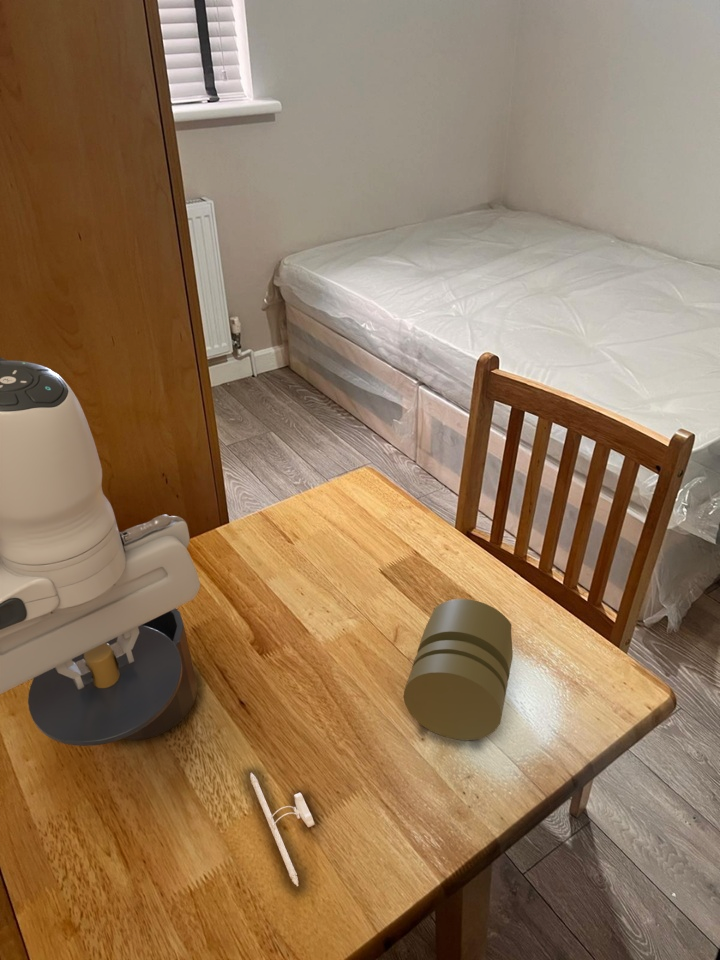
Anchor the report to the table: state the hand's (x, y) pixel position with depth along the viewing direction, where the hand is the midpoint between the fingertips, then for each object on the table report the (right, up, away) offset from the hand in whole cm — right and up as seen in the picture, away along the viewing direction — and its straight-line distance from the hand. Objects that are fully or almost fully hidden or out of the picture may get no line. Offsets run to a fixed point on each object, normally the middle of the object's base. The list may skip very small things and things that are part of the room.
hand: (103, 671), depth 67 cm
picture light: (+16, -19, +12) cm, 28 cm away
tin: (-4, -10, +26) cm, 28 cm away
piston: (+36, -10, +25) cm, 45 cm away
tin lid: (0, -1, +1) cm, 2 cm away
